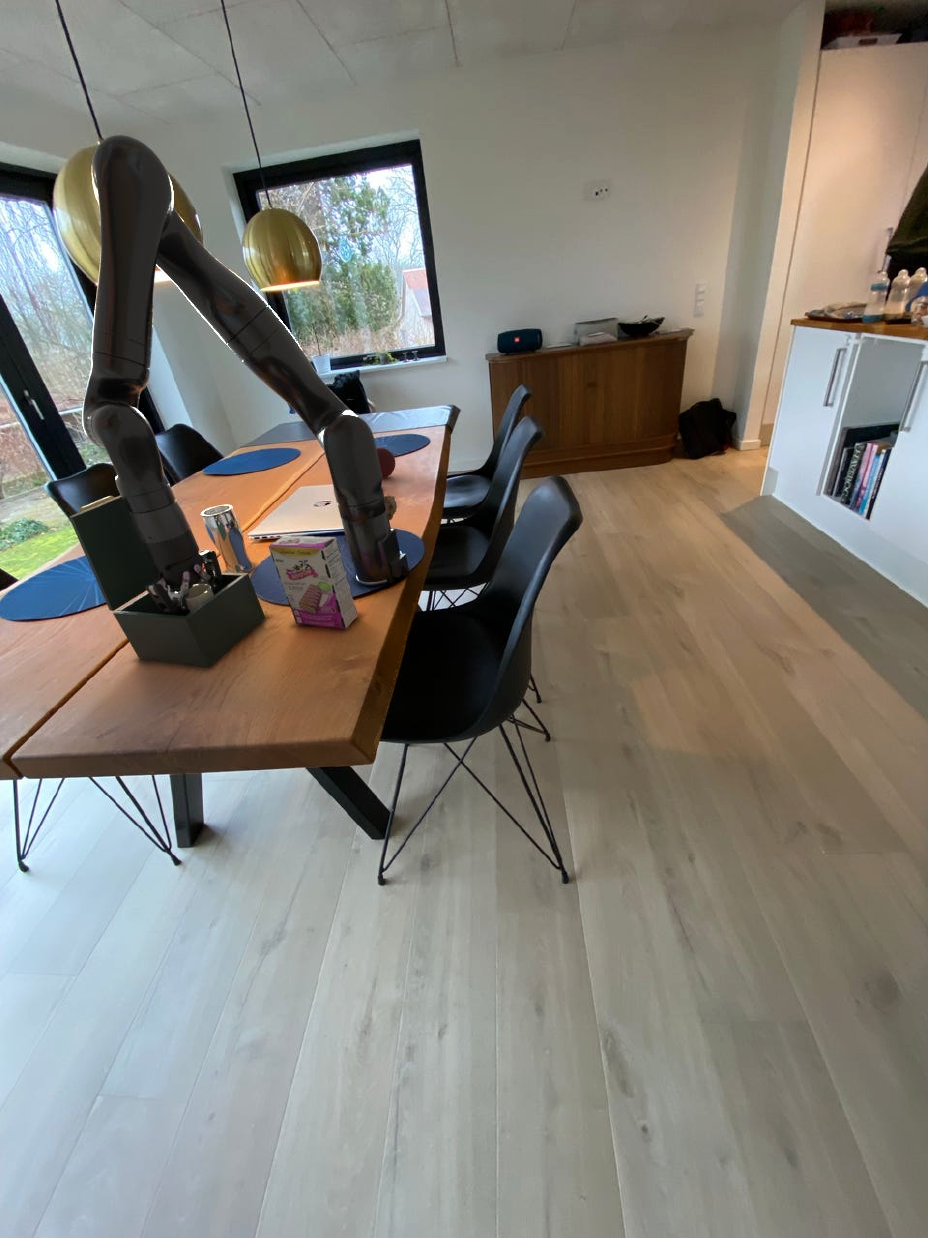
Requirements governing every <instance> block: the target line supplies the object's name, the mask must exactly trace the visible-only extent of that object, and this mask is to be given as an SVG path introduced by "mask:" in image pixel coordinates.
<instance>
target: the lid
mask: <svg viewBox="0 0 928 1238" xmlns="http://www.w3.org/2000/svg"><path fill="white" fill-rule="evenodd" d="M68 518H69V521H70V523H71V526H72V527H73V530H74V532H75V535H76V537H77V539H78V541H79V544H80V546H81V548H82V551H83V552H84V555H85V557H86V560H87V562H88V564H89V566H90V569H91V572H92V573H93V576H94V578H95V581H96V582H97V584H98V587H99V589H100V591H101V594H102V596H103V598H104V601H105V603H106V606H107V608H108V610H109V611H110V612H115V611H117V610H119V609H120V608H122V607H123V606H125V605H127V604H128V603H130V602H131V601H133V600H135V599H136V598H138V597H140V596H141V595H143V594H144V593H146V592H148V591H147V590H146V588H145V586H146V584H148V583H154V582H155V581H156V580H157V579H159V573H158V569H157V568H156V566H155V565H154V564H153V563H152V562H151V560H150V558H149V556H148V554H147V552H146V550H145V548H144V545H143V543H142V541H141V539H140V537H139V535H138V533H137V531H136V529H135V527H134V525H133V522H132V519H131V516H130V513H129V511H128V509H127V507H126V505H125V503H124V501H123V499H122V497H121V495H118V496H115V497H114V496H113V495H109V496H106V497H103V498H101V499H98V500H96V501H94V502H91V503H89V504H87V505H83V506H81V507H80V508H79V512H77V513H75V514H71V515H70V516H68Z"/></svg>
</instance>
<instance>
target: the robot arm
mask: <svg viewBox="0 0 928 1238" xmlns="http://www.w3.org/2000/svg"><path fill="white" fill-rule="evenodd" d="M91 179H92V181H91V182H92V188H93V192H94V197H95V199H96V201H97V204H98V208H99V217H100V260H99V271H98V280H97V288H96V298H95V306H94V315H93V325H92V338H91V339H92V341H91V368H90V373H89V378H88V381H87V385H86V390H85V393H84V397H83V398H84V399H83V406H82V412H81V413H82V414H81V415H82V417H81V419H82V427H83V431H84V433H85V436H86V437H87V438H88V439H89V440H90V442H92V444H94V445H95V446H96V447H98V448H100V449H101V450H104V451H106V453H107V455H108V457H109V459H110V461H111V464H112V466H113V469H114V470H115V473H116V476H115V485H116V488H117V490H118V492H119V494H120V495H121V497H122V499H123V501H124V503H125V505H126V507H127V509H128V511H129V513H130V516H131V519H132V522H133V525H134V527H135V529H136V531H137V533H138V535H139V537H140V539H141V541H142V543H143V545H144V548H145V550H146V552H147V554H148V556H149V558H150V560H151V562H152V563H153V564H154V565H155V566H156V568H157V569H158V573H159V579H157V580H156V581H155V582H154V583H148V584H146V586H145V588H146V590H147V591H146V592H148V593H149V594H150V596H151V597H152V599H153V600H154V601H155V603H156V604H157V606H158V607H159V609H160V610H161V611H162V613H169V614H176V616H186V615H188V614H189V613H191V612H190V610H189V609H187V598H188V597H189V589H190V588H191V587H192V586H193V585H194V584H207V585H210V586H211V588H212V590H213V593H214V595H215V594H217V593H218V590H217V588H218V584H219V582H222V581H223V576H222V570H221V569H222V568H221V566H220V563H219V559H218V556H217V552H216V551H215V550H201V551H200V547H199V544H198V542H197V539H196V538H195V535H194V533H193V530H192V528H191V526H190V524H189V521H188V519H187V517H186V514H185V512H184V511H183V509H182V507H181V506H180V504H179V502H178V500H177V498H176V496H175V493H174V491H173V489H172V486H171V484H170V482H169V479H168V478H167V476H166V475H165V471H164V466H163V461H162V457H161V453H160V449H159V446H158V442H157V439H156V436H155V433H154V431H153V428H152V426H151V424H150V422H149V420H148V419H147V418H146V417H145V416H144V414H143V413H142V412H141V411H140V410H139V402H140V396H141V393H142V391H143V390H145V389H146V387H147V386H148V384H149V380H150V376H151V375H150V374H151V362H152V360H151V359H152V350H153V332H154V331H153V330H154V296H155V294H154V293H155V277H156V267H157V268H158V269H160V271H162V272H163V273H164V274H165V275H166V276H167V277H168V279H170V280H171V282H173V284H174V285H175V286H176V287H177V288H178V289H179V290H180V292H181V293H182V294H183V295H184V296H185V297H186V299H187V300H188V302H190V304H191V305H192V306H193V307H194V309H195V310H196V311H197V313H199V315H200V316H201V317H202V318H203V319H204V320H205V321H206V323H207V324H208V325H209V326H210V327H211V328H212V329H213V331H214V332H215V333H216V334H217V335H218V337H219V338H220V339H221V340H222V342H224V344H225V345H226V346H227V347H228V348H229V349H230V350H231V351H232V353H233V354H234V355H235V356H236V357H237V358H238V359H239V360H240V361H241V362H242V364H244V365H245V366H246V367H247V368H248V369H249V371H251V373H253V374H254V375H255V376H256V377H257V378H258V379H259V380H260V381H261V382H262V383H264V384H265V386H267V388H269V389H271V391H273V392H274V393H275V394H277V395H278V396H279V397H280V398H281V399H282V400H284V401H285V402H286V403H287V404H288V405H289V406H290V408H292V409H293V411H294V412H295V413H296V414H297V415H298V416H299V417H300V419H301V420H302V422H303V423H304V424H305V425H306V427H307V428H308V430H310V432H311V433H312V435H313V436H314V438H315V440H316V441H317V442H318V444H319V445H320V447H321V448H322V450H323V452H324V455H325V459H326V463H327V466H328V471H329V474H330V477H331V481H332V486H333V494H334V497H335V502H336V506H337V509H338V512H339V517H340V520H341V523H342V527H343V531H344V536H345V537H346V539H345V540H346V543H347V546H348V550H349V554H350V560H351V563H352V565H353V568H354V572H355V577H356V582H357V583H358V584H359V585H362V586H366V587H376V586H382V585H385V584H393V583H394V582H395V581H396V580H397V579H398V578H400V577H401V576H402V575H403V576H405V577H407V575H408V574H409V573H410V568H409V562H408V558H407V554H406V553H402V551H401V549H400V545H399V541H398V540H399V539H398V535H397V530H396V529H395V528H391V521H390V520H389V517H388V512H387V508H386V503H385V498H384V496H385V494H384V490H383V489H384V488H383V478H382V474H381V469H380V464H379V459H378V454H377V449H376V447H377V444H376V440H375V436H374V434H373V430H372V428H371V427H370V425H369V424H368V423H367V421H365V419H363V418H362V417H361V416H359V415H358V414H356V413H355V412H354V411H352V410H351V409H350V408H349V407H348V406H347V405H346V404H345V403H344V402H343V401H342V400H341V399H340V398H339V397H338V396H337V395H336V394H335V393H334V392H333V391H332V390H331V389H330V387H328V385H327V384H326V383H325V382H324V381H323V380H322V378H321V377H320V375H319V374H318V373H317V371H316V370H315V368H314V367H313V365H312V363H311V361H310V360H309V358H308V357H307V355H306V353H305V352H304V349H302V347H301V346H300V344H299V343H298V341H297V339H296V338H295V337H294V335H293V334H292V332H291V331H290V329H288V327H287V326H286V324H284V322H283V321H282V320H281V318H280V317H279V316H278V314H277V313H276V312H275V311H274V310H273V309H272V308H271V306H270V305H268V303H267V301H266V300H265V299H264V298H263V297H262V296H261V295H260V294H259V293H258V291H256V290H255V289H254V288H253V287H252V286H251V285H249V283H247V282H246V281H245V280H243V279H242V278H241V277H240V276H238V275H237V274H236V273H235V272H233V271H232V270H231V269H230V268H228V267H227V266H226V265H225V264H223V263H222V262H220V261H219V260H218V259H217V258H216V257H215V256H214V255H212V253H211V252H210V251H209V250H208V249H207V248H206V247H205V246H204V245H203V243H202V242H201V241H200V240H199V239H198V238H197V237H196V235H195V234H194V232H193V231H192V230H191V228H190V227H189V226H188V225H187V223H186V222H185V221H184V220H183V218H182V217H181V216H180V214H179V213H178V212H177V210H176V208H175V207H174V190H173V184H172V181H171V177H170V175H169V173H168V170H167V168H166V167H165V164H164V163H163V162H162V160H161V158H159V156H158V155H157V153H155V152H154V150H152V148H151V147H149V145H147V144H145V143H144V142H143V141H141V140H139V139H137V138H135V137H132V136H129V135H125V134H113V135H110V136H107V137H105V138H104V139H103V140H101V142H99V144H98V145H97V146H96V148H95V150H94V153H93V155H92V159H91ZM120 495H119V496H120ZM203 568H204V569H203ZM213 572H214V573H215V575H214V573H213ZM165 584H167V585H168V589H167V588H166V587H165ZM176 589H177V590H181V592H180V593H178V592H177V591H176ZM167 590H168V593H167V592H166V591H167ZM178 598H179V603H178V601H177V600H178Z"/></svg>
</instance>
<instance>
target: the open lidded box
mask: <svg viewBox="0 0 928 1238" xmlns="http://www.w3.org/2000/svg"><path fill="white" fill-rule="evenodd" d="M221 572H222V571H221ZM213 573H214V571H213ZM214 575H215V573H214ZM222 576H223V581H222V582H219V584H218V588H217V590H218V593H217V594H215V595H214V596H213V597H211V598H210V599H209V600H207V601H206V602H204V603H203V604H202V605H200V606H199V607H198V608H196V609H195V610H193V611H192V612H191V613H189V614H188V615H186V616H176V614H169V613H162V611H161V610H160V609H159V607H158V606H157V604H156V603H155V601H154V600H153V599H152V597H151V596H150V594H149V593H148V591H145V592H144V593H142V594H140V595H139V596H137V597H136V598H134V599H132V600H131V601H129V602H128V603H126V604H124V605H123V606H121V607H120V608H118V609H116V610H115V611H113V613H112V614H113V616H114V618H115V619H116V622H117V623H118V625H119V626H120V629H121V630H122V632H123V633H124V635H125V637H126V638H127V640H128V642H129V644H130V645H131V647H132V649H133V651H134V653H135V654H136V656H137V657H138V660H144V661H150V662H159V663H168V664H174V665H183V666H191V667H200V668H207V669H210V668H211V667H212V666H213V665H214V664H216V663H217V662H218V661H219V660H220V659H221V658H222V657H223V656H225V655H226V654H227V653H228V652H229V651H230V650H231V649H233V648H235V646H236V645H237V644H238V643H239V642H241V641H242V640H243V639H244V638H245V637H246V636H247V635H249V634H250V633H251V632H252V631H254V629H256V628H257V627H258V626H259V625H260V624H261V623H262V622H264V621H265V620H266V619H267V618H266V615H265V612H264V610H263V608H262V605H261V602H260V599H259V597H258V595H257V593H256V590H255V587H254V585H253V582H252V580H251V577H250V575H249V572H247V573H227V571H226V572H224V571H223V572H222ZM194 585H196V584H194ZM165 587H166V588H167V589H168V585H167V584H165ZM176 591H177V592H179V591H181V590H177V589H176ZM166 592H167V593H168V590H167V591H166Z"/></svg>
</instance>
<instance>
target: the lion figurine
mask: <svg viewBox="0 0 928 1238" xmlns="http://www.w3.org/2000/svg"><path fill="white" fill-rule="evenodd" d="M384 498H385V503H386V508H387V512H388V517H389V521H392V520H393V518H394V515H395V514H396V512H397V508H398V504H397V502H396V497H395V496H394V495H393V496H392V495H391V494H384ZM344 540H347V539H346V536H345V537H344Z"/></svg>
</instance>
